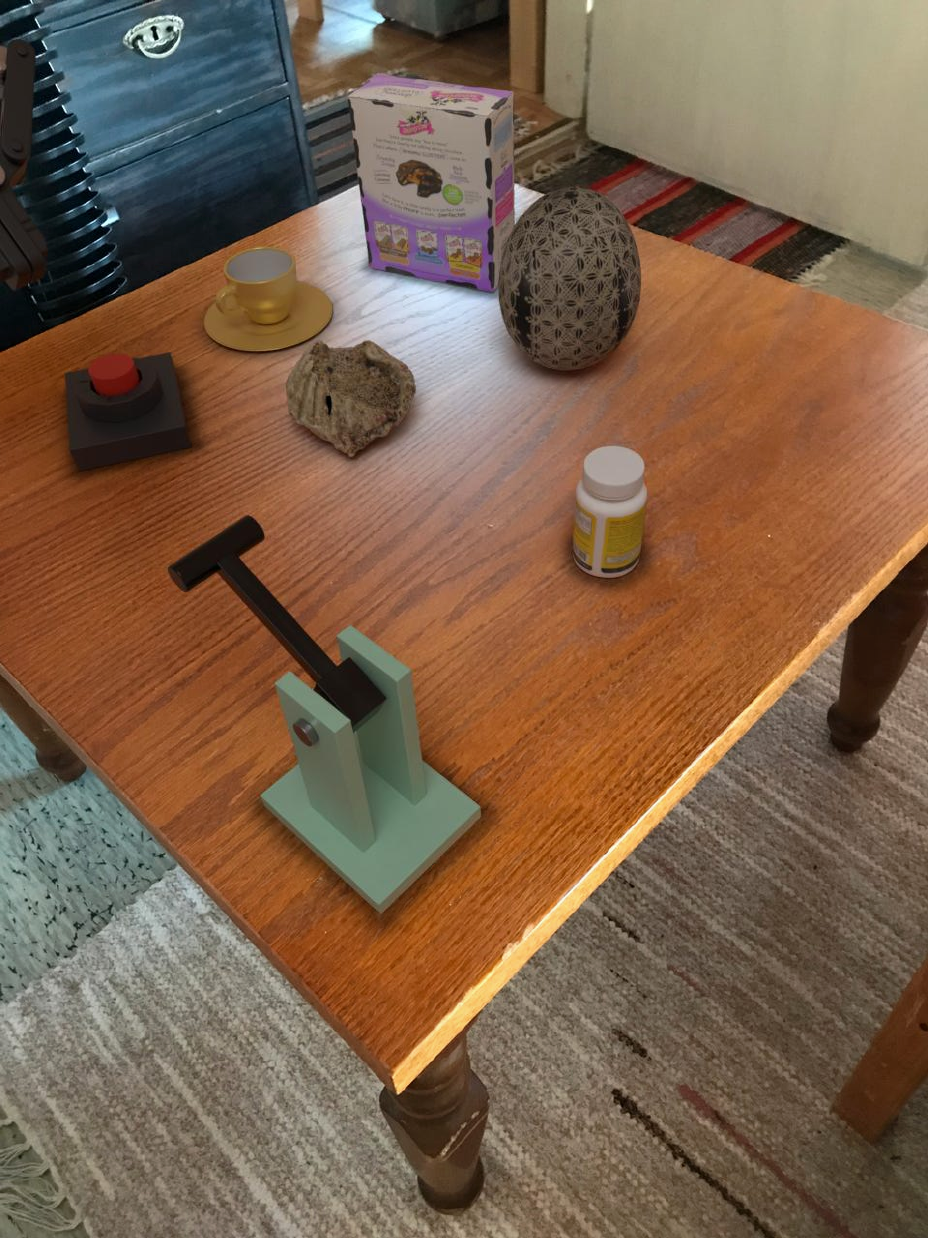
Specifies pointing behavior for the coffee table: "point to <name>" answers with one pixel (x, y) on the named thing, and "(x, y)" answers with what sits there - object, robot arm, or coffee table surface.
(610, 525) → the supplement bottle
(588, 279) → the decorative egg
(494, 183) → the candy box
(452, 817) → the bracket
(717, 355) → the coffee table surface
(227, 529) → the lever
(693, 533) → the coffee table surface
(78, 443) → the button housing
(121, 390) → the button
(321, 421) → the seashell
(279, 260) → the cup
